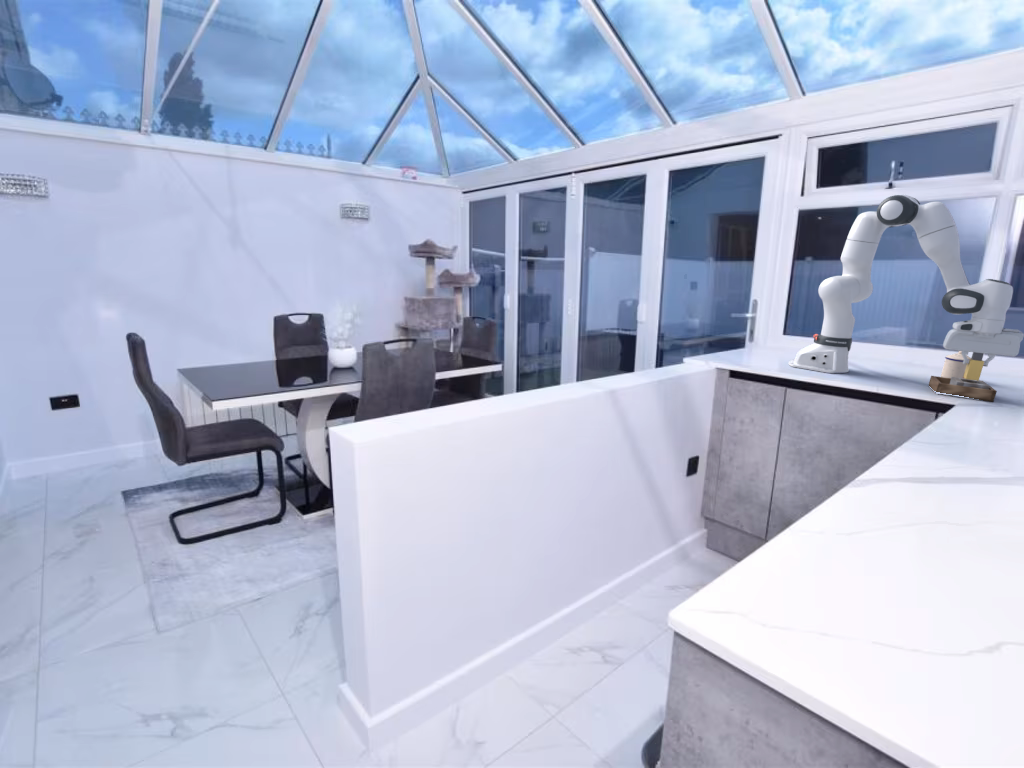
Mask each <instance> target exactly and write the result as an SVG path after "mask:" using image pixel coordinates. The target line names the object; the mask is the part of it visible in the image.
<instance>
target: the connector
mask: <svg viewBox="0 0 1024 768" xmlns="http://www.w3.org/2000/svg"><path fill="white" fill-rule="evenodd" d="M984 354H985V353H975V352H972V354H971V357H970V358H971V359H970V358H969V359H970V362H969V364H967V366H966V369H965V373H964V376H963V377H964V378H965V379H970V380H977V381H979V380H980V378H981V373H982V370H983V368H984V366H983V364H984V361H985V360H983V358H984Z"/></svg>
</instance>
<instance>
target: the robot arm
mask: <svg viewBox="0 0 1024 768" xmlns="http://www.w3.org/2000/svg"><path fill="white" fill-rule="evenodd" d="M906 225H909V226H911V227H912V228H913V230H914V231H915V235H916V237H917V241H918V244H919V245H920V248H921V250H922V251H923V253H924V254H925V256H926V257H928V258H929V259H930V260H931V261H932V262H934V263H935V265H937V267H938V268H939V270H940V274H941V277H942V280H943V282H944V284H945V287H946V293H945V294H944V295H942V299H941V307H942V308H943V309H944V311H946V312H947V313H949V314H952V315H957V316H958V315H965V314H970V315H972V316H971V318H970V319H968V320H964V321H963V320H962V321H957V322H956V321H955V322H953V324H952V328H951V329H949V331H947V334H946V335H945V338H944V340H943V342H942V343H943V344H942V347H943V348H944V350H951V351H958V352H959V351H962V356H963V358H964V361H963V364H969V362H970V359H967V357H966V355H967V356H969V353H973V352H975V353H984V354H987V358H986V359H985V360H983V361H984V364H983V367H986V368H987V367H988V365H989V363H990V362H992V360H994V359H995V357H996V356H997V355H998V356H1005V357H1012V358H1013V357H1014V358H1015V357H1016V356H1018V354H1020V346H1021V342H1022V341H1023V340H1024V332H1023V331H1021V330H1020V329H1012V328H1004V326H1005V323H1006V316H1007V315H1006V313H1007V312H1008V310H1009V309H1010V306H1011V302H1012V299H1013V293H1014V287H1013V285H1011V283H1010V282H1007V281H1003V280H999V279H993V278H985V280H983V281H979V282H977V283H974V284H970V282H969V279H968V278H967V275H966V271H965V269H964V266H963V264H962V260H961V246H960V245H961V243H960V235H959V230H958V227H957V224H956V222H955V220H954V217H953V215H952V213H951V211H950V210H949V208H948V207H947V205H946V204H945V203H944V202H942V201H930V202H927V203H924V204H921V203H920V201H919V200H918V199H917V198H916V197H913V196H910V195H906V194H894V195H891V196H888V197H886V198H885V199H883V200H882V201H881V202H880V203H879V205H878V207H877V208H876V211H873V210H871V211H864V212H861V213H859V214H858V215H857V216H856V218H855V220H854V221H853V223H852V225H851V228H850V230H849V232H848V235H847V237H846V240H845V242H844V245H843V249H842V252H841V256H840V261H841V264H842V275H833V276H831V277H828V278H826V279H824V280H822V281H821V282H820V285H819V286H818V290H817V292H818V296H819V298H820V299H821V301H822V305H823V321H822V326H821V332H820V334H818V333H815V334H813V343H810V344H808V345H807V346H804V347H802V348H800V349H799V350H798V351H797V353H796V355H795V358H794V359H790V360H788V365H789V366H790V367H793V368H798V369H802V370H803V369H804V370H810V371H816V372H821V373H829V374H835V373H838V374H839V373H843V374H844V373H849V370H850V369H849V354H850V351H851V348H852V344H853V338H852V337H853V331H854V327H855V324H856V318H855V316H854V315H853V308H852V304H856V303H860V302H862V301H865V300H867V299H869V297H871V295H872V294H873V291H874V286H873V285H874V284H873V282H872V280H871V279H872V277H871V275H872V266H873V261H874V259H875V255H876V253H877V249H878V247H879V244H880V241H881V239H882V236H883V233H884V232H885V231H886V230H887V229H889V228H896V227H903V226H906Z"/></svg>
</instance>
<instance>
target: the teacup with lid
mask: <svg viewBox="0 0 1024 768" xmlns="http://www.w3.org/2000/svg"><path fill="white" fill-rule="evenodd" d="M966 357H967V359H969V358H970V359H971V358H972V357H970V356H969V355H966ZM944 358H945V360H944V363H943V367H942V370H941V374H940V377H945V378H951V377H957V378H964V377H963V376H964V373H965V369H966V366H967V364H963V361H964V358H963V356H962V351H958V352H956V353H953V354H948V355H946V356H945V357H944Z"/></svg>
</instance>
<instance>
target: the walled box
mask: <svg viewBox="0 0 1024 768" xmlns="http://www.w3.org/2000/svg"><path fill="white" fill-rule="evenodd" d="M928 385H929V386H930V387H931V388H932V389H933V390H934V391H936V392H940V393H946V394H952V395H959V396H964V397H969V398H974V399H979V400H978V401H981V400H983V401H982V402H989V403H994V402H995V398H996V395H997V392H998V391H997V390H996V389H995V388H993V387H992V386H991V385H989V384H988V383H987V382H986V381H984V380H980V379H979V381H977V380H970V379H965V378H957V377H951V378H945V377H941V376H935V375H931V376H930V379H929V382H928ZM929 386H928V387H929ZM930 387H929V388H930ZM931 388H930V389H931ZM932 389H931V390H932ZM933 390H932V391H933ZM934 391H933V392H934ZM974 399H973V400H974Z"/></svg>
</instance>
